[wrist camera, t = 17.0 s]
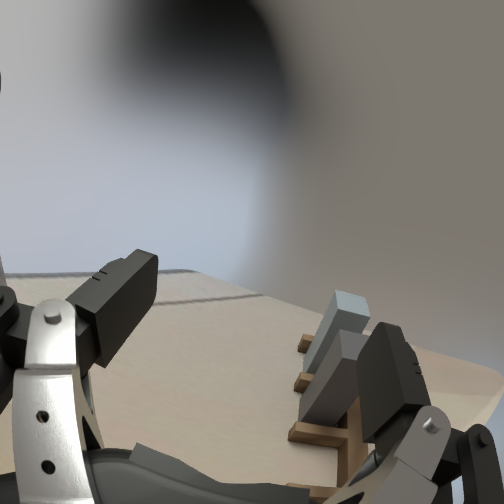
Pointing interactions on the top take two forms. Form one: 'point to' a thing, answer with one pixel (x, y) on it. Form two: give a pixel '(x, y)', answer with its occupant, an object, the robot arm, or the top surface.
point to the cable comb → (331, 437)
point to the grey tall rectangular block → (333, 382)
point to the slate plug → (336, 326)
